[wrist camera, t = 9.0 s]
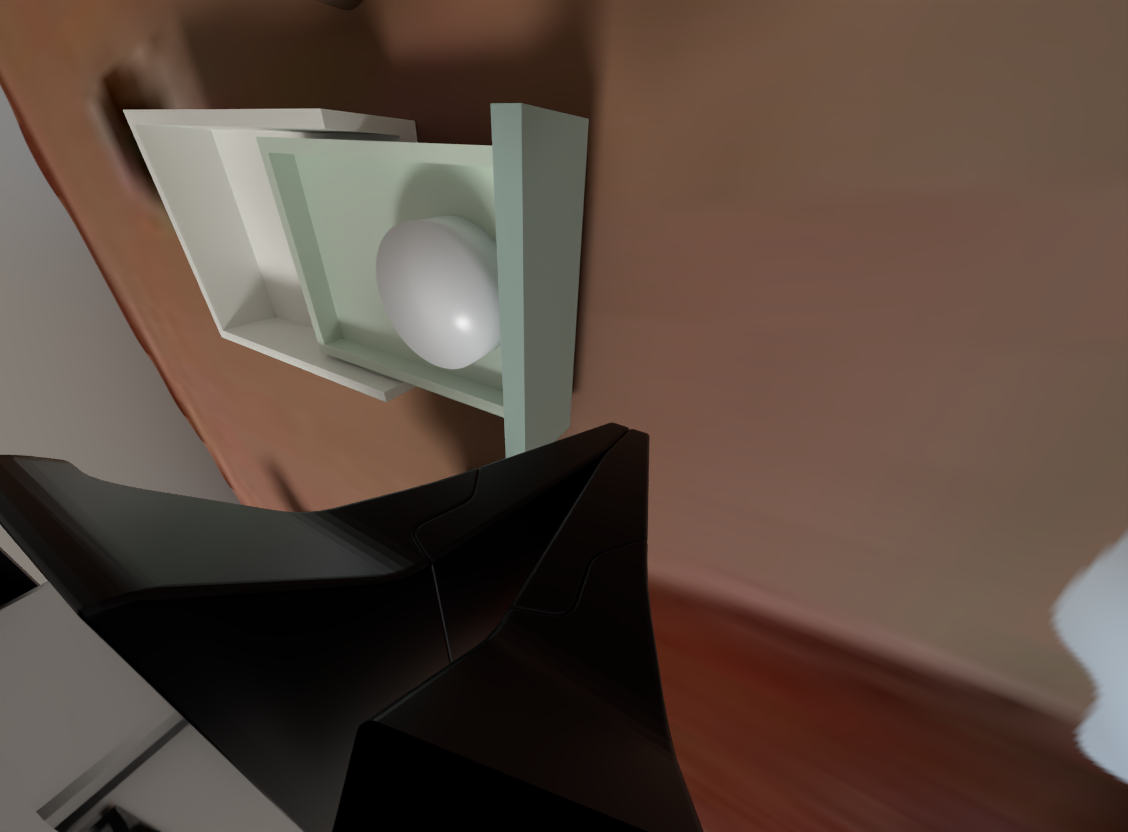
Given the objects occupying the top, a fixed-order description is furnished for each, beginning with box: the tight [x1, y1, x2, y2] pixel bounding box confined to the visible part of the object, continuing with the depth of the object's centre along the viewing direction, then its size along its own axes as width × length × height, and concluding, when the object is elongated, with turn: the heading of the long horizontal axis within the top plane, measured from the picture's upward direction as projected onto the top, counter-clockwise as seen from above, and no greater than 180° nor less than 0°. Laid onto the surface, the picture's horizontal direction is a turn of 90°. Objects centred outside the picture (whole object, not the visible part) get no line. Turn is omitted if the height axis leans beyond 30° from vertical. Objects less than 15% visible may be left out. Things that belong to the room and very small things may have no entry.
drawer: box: [256, 103, 589, 458], centre depth 18 cm, size 12×16×4 cm
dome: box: [376, 215, 501, 369], centre depth 17 cm, size 6×6×2 cm
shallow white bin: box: [123, 108, 418, 402], centre depth 23 cm, size 12×16×4 cm
